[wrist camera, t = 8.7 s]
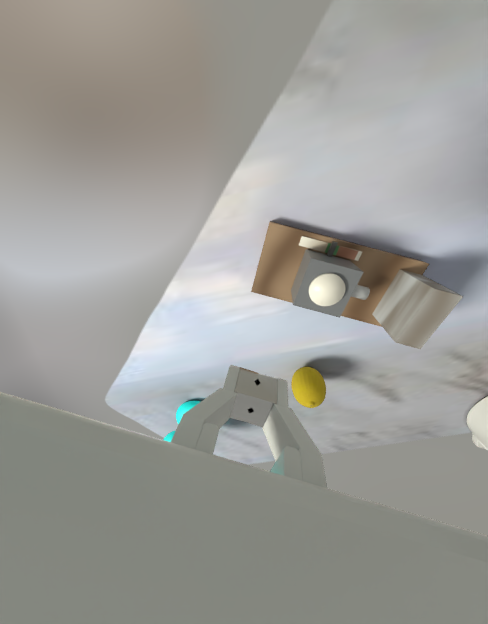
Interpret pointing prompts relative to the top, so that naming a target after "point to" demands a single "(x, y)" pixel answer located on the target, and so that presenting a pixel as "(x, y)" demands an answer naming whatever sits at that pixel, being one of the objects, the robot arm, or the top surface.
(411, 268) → the bench
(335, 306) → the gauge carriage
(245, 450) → the top surface
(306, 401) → the lemon
